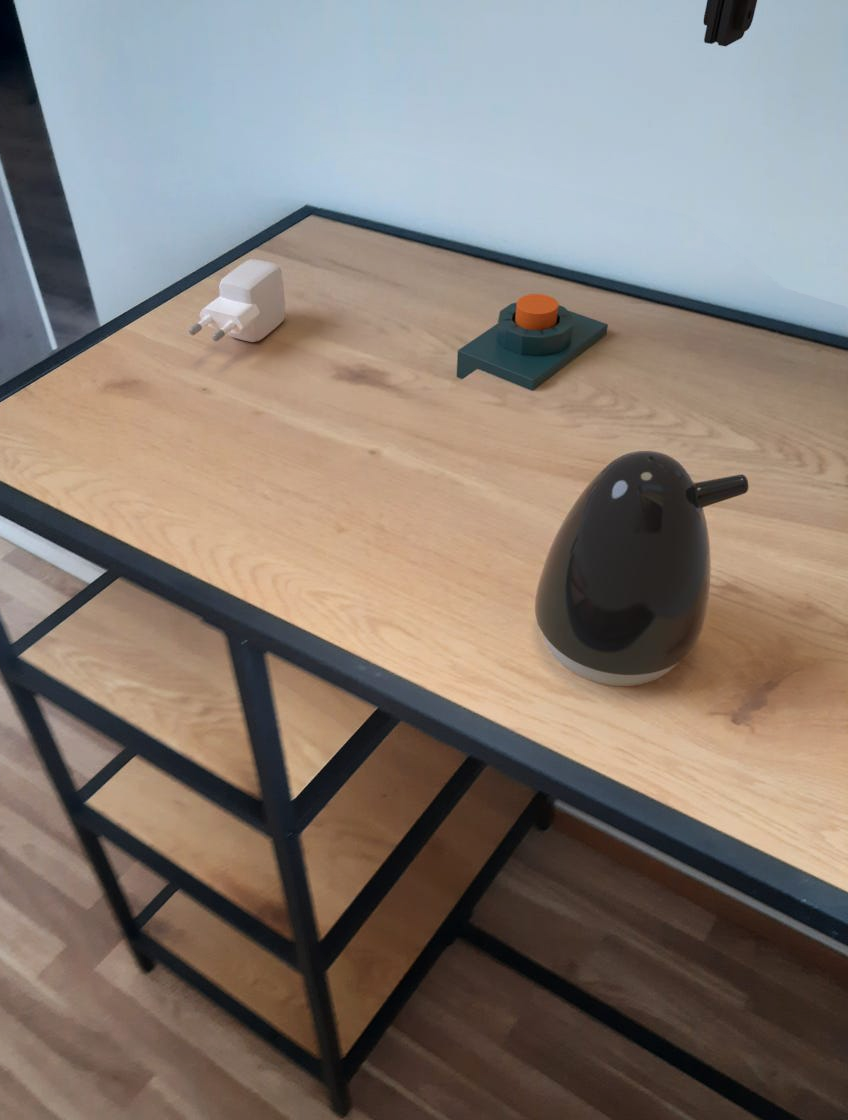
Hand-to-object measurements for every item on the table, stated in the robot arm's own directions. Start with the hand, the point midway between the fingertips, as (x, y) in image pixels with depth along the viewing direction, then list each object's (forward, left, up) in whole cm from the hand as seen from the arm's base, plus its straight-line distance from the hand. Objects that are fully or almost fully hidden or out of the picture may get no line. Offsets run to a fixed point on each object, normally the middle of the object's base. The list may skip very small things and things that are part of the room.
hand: (723, 39), depth 68 cm
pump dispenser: (+35, +16, -25) cm, 46 cm away
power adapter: (+22, -32, -25) cm, 46 cm away
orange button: (+8, -8, -21) cm, 24 cm away
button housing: (+9, -8, -25) cm, 28 cm away
